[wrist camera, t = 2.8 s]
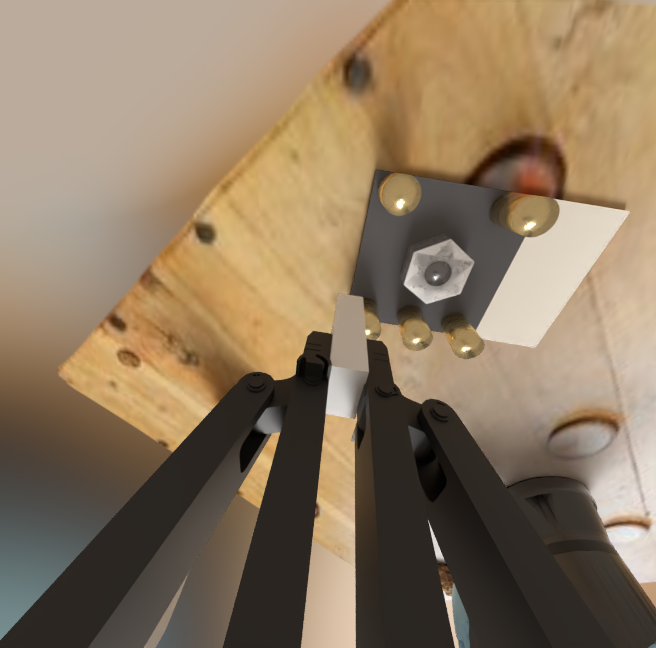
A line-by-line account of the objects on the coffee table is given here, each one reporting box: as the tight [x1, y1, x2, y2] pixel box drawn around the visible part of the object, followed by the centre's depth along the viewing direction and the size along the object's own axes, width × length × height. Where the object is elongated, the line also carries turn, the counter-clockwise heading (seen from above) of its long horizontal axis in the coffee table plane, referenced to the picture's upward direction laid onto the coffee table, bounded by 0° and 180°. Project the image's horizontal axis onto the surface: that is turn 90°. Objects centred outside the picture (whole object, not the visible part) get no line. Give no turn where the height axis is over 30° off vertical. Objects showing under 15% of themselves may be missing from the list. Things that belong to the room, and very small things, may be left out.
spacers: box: [363, 173, 560, 359], centre depth 26 cm, size 14×16×5 cm
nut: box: [400, 234, 474, 304], centre depth 27 cm, size 7×6×3 cm
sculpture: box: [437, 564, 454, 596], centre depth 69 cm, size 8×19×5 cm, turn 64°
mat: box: [351, 170, 631, 348], centre depth 28 cm, size 24×16×1 cm, turn 82°
